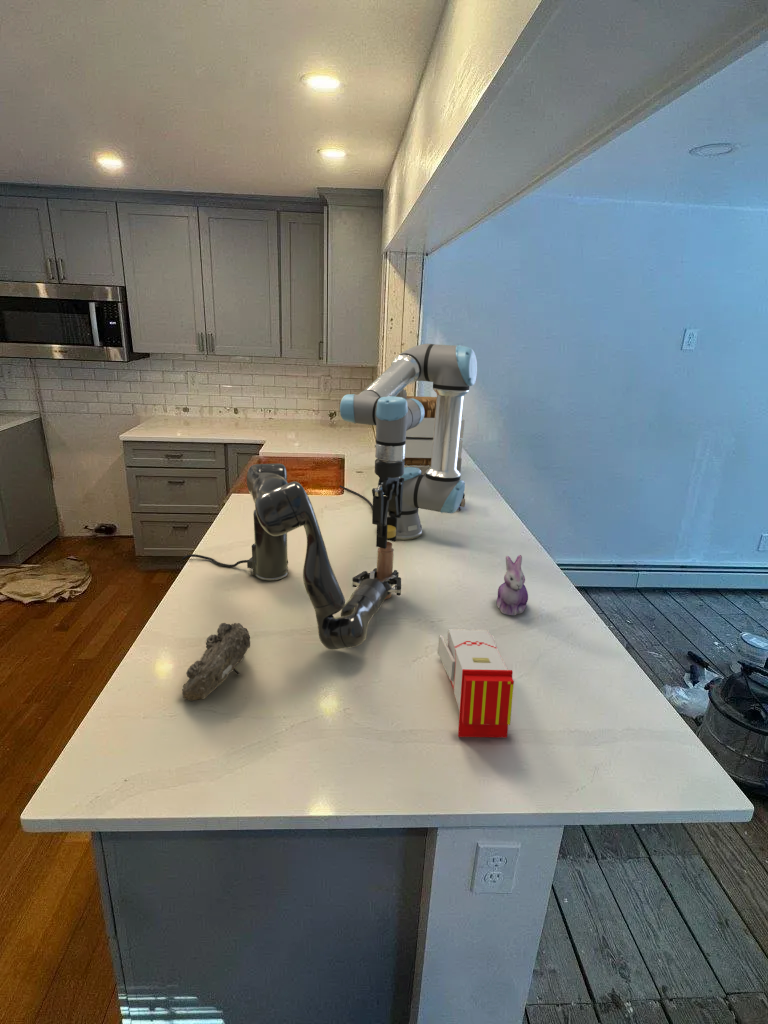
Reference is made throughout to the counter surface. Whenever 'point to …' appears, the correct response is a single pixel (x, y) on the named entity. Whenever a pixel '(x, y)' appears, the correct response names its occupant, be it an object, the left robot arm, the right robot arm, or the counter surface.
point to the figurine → (512, 589)
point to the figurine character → (462, 502)
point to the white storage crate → (425, 435)
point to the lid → (391, 531)
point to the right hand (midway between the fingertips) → (386, 543)
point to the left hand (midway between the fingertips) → (387, 571)
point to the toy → (478, 682)
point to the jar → (385, 563)
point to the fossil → (217, 660)
